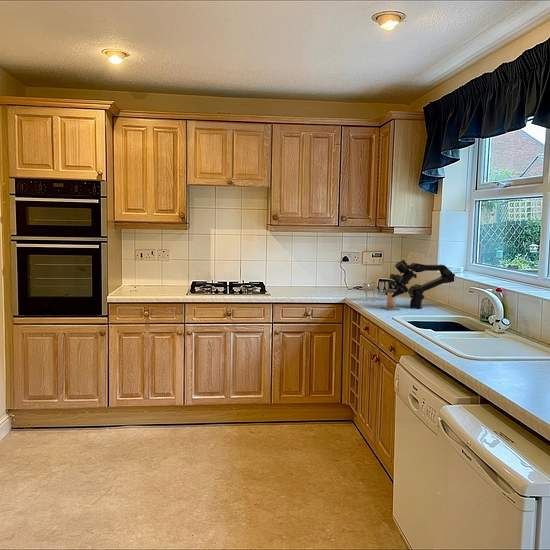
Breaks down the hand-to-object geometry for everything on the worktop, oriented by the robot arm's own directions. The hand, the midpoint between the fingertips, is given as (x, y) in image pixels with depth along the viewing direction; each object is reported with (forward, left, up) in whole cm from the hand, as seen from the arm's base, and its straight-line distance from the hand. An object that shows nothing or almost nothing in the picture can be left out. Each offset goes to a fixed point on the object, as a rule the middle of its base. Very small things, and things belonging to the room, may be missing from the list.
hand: (388, 295), depth 332 cm
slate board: (-1, -1, -8) cm, 8 cm away
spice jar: (-1, -1, -8) cm, 8 cm away
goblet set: (+17, -28, -9) cm, 34 cm away
